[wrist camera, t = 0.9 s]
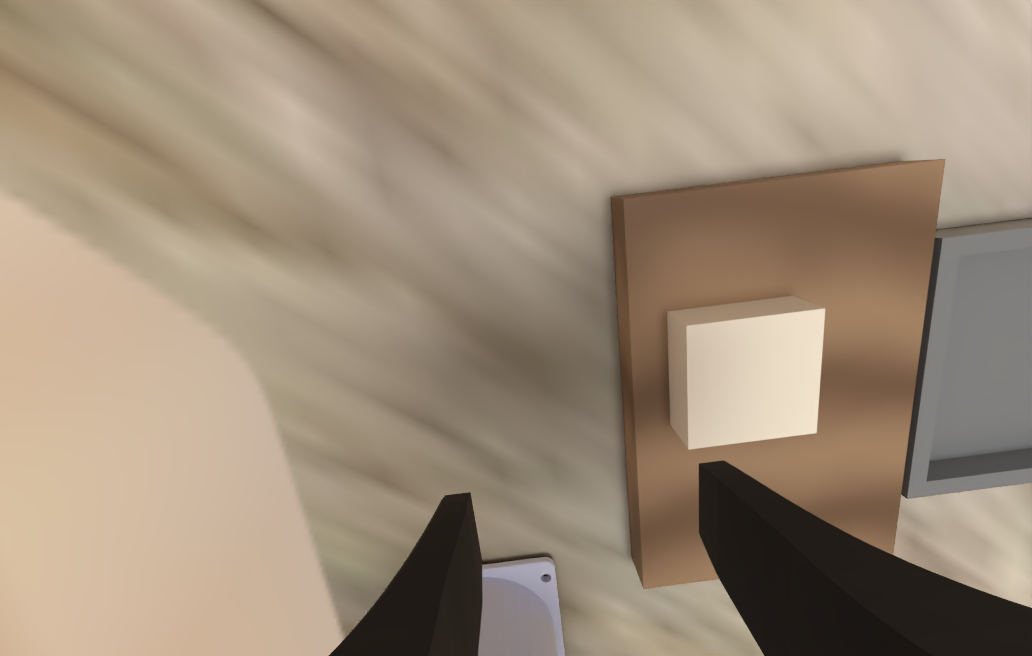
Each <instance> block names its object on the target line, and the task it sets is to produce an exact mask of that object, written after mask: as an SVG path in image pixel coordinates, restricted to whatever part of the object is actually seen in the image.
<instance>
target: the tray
mask: <svg viewBox="0 0 1032 656" xmlns="http://www.w3.org/2000/svg"><path fill="white" fill-rule="evenodd" d="M1025 483H1032V218H1027V219H1019V220H1011V221H1003V222H995V223H987V224H979V225H971V226H963V227H955V228H947V229H939V230H936V233H935V240H934V248H933V256H932V263H931V271H930V278H929V286H928V294H927V301H926V309H925V316H924V324H923V332H922V339H921V347H920V354H919V362H918V369H917V377H916V385H915V392H914V400H913V407H912V415H911V423H910V430H909V438H908V445H907V453H906V461H905V468H904V476H903V483H902V491H901V494H902V495H903V496H904V497H905V498H907V499H909V498H917V497H925V496H932V495H940V494H948V493H955V492H963V491H971V490H979V489H986V488H994V487H1002V486H1009V485H1017V484H1025Z"/></svg>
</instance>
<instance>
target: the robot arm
mask: <svg viewBox="0 0 1032 656" xmlns="http://www.w3.org/2000/svg"><path fill="white" fill-rule="evenodd" d="M699 535H700V537H701V539H702V542H703V544H704V546H705V549H706V551H707V554H708V556H709V558H710V560H711V563H712V565H713V567H714V569H715V571H716V574H717V575H718V577H719V579H720V581H721V582H722V584H723V586H724V588H725V589H726V591H727V593H728V595H729V596H730V598H731V600H732V601H733V603H734V605H735V607H736V608H737V610H738V612H739V613H740V615H741V617H742V618H743V620H744V622H745V624H746V625H747V627H748V629H749V630H750V632H751V634H752V635H753V637H754V639H755V640H756V642H757V644H758V646H759V647H760V649H761V651H762V652H763V654H764V656H1032V608H1030V607H1027V606H1024V605H1021V604H1018V603H1015V602H1012V601H1009V600H1006V599H1003V598H1000V597H997V596H994V595H991V594H989V593H986V592H983V591H980V590H977V589H975V588H972V587H969V586H967V585H964V584H961V583H959V582H956V581H954V580H951V579H949V578H946V577H944V576H941V575H938V574H936V573H933V572H931V571H928V570H926V569H924V568H921V567H919V566H916V565H914V564H912V563H909V562H907V561H905V560H903V559H900V558H898V557H896V556H894V555H892V554H890V553H887V552H885V551H883V550H881V549H879V548H877V547H874V546H872V545H870V544H868V543H866V542H864V541H862V540H860V539H858V538H856V537H854V536H852V535H850V534H848V533H846V532H844V531H843V530H841V529H839V528H837V527H835V526H833V525H831V524H830V523H828V522H826V521H824V520H822V519H820V518H819V517H817V516H815V515H813V514H812V513H810V512H808V511H806V510H805V509H803V508H801V507H799V506H798V505H796V504H794V503H793V502H791V501H789V500H788V499H786V498H784V497H783V496H781V495H779V494H778V493H776V492H775V491H773V490H771V489H770V488H768V487H767V486H765V485H763V484H762V483H760V482H759V481H757V480H755V479H754V478H752V477H751V476H749V475H747V474H746V473H744V472H743V471H741V470H739V469H738V468H736V467H734V466H733V465H731V464H729V463H728V462H726V461H724V460H722V461H714V462H706V463H699ZM544 574H549V576H542V575H544ZM329 656H565V650H564V641H563V633H562V624H561V616H560V607H559V598H558V590H557V581H556V572H555V565H554V562H553V560H552V559H551V558H548V557H539V558H531V559H524V560H516V561H508V562H501V563H493V564H485V565H482V558H481V552H480V546H479V540H478V534H477V528H476V523H475V517H474V511H473V505H472V499H471V493H470V492H469V493H461V494H453V495H445V497H444V498H443V499H442V500H441V502H440V504H439V506H438V508H437V510H436V511H435V513H434V515H433V517H432V519H431V520H430V522H429V524H428V526H427V527H426V529H425V531H424V533H423V534H422V536H421V538H420V539H419V541H418V542H417V544H416V546H415V547H414V549H413V550H412V552H411V553H410V555H409V557H408V558H407V560H406V561H405V563H404V564H403V566H402V567H401V569H400V570H399V571H398V573H397V574H396V576H395V577H394V578H393V580H392V581H391V583H390V584H389V585H388V587H387V588H386V590H385V591H384V592H383V594H382V595H381V596H380V598H379V599H378V600H377V601H376V603H375V604H374V605H373V607H372V608H371V609H370V610H369V612H368V613H367V614H366V615H365V616H364V618H363V619H362V620H361V621H360V622H359V623H358V625H357V626H356V627H355V628H354V629H353V630H352V632H351V633H350V634H349V635H348V636H347V637H346V638H345V639H344V640H343V641H342V642H341V644H340V645H339V646H338V647H337V648H336V649H335V650H334V651H333V652H332V653H331V654H330V655H329Z"/></svg>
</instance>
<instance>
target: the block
mask: <svg viewBox="0 0 1032 656" xmlns="http://www.w3.org/2000/svg"><path fill="white" fill-rule="evenodd" d="M824 321H825V308H823V307H820V306H818V305H815V304H813V303H810V302H807V301H805V300H802V299H799V298H797V297H794V296H787V297H779V298H771V299H763V300H755V301H747V302H739V303H731V304H723V305H715V306H707V307H699V308H691V309H683V310H676V311H668V312H667V324H668V360H669V396H670V425H671V426H672V428H673V429H674V431H675V432H676V433H677V435H678V436H679V437H680V439H681V440H682V442H683V443H684V444H685V446H686V447H687V448H688V450H689V449H697V448H705V447H713V446H721V445H728V444H736V443H744V442H752V441H759V440H767V439H775V438H783V437H790V436H798V435H806V434H814V433H817V421H818V407H819V393H820V378H821V364H822V350H823V335H824Z"/></svg>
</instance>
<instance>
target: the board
mask: <svg viewBox="0 0 1032 656" xmlns="http://www.w3.org/2000/svg"><path fill="white" fill-rule="evenodd" d="M944 165H945V159H939V160H919V161H900V162H892V163H884V164H876V165H868V166H860V167H852V168H844V169H836V170H827V171H819V172H811V173H803V174H795V175H787V176H779V177H771V178H763V179H754V180H746V181H738V182H730V183H722V184H714V185H706V186H698V187H690V188H681V189H673V190H665V191H657V192H649V193H641V194H633V195H625V196H617V197H611V209H612V226H613V243H614V260H615V277H616V294H617V311H618V328H619V345H620V362H621V379H622V397H623V414H624V431H625V448H626V465H627V482H628V499H629V516H630V533H631V550H632V559H633V562H634V565H635V567H636V570H637V573H638V576H639V578H640V581H641V584H642V586H643V589H647V588H655V587H662V586H670V585H678V584H685V583H693V582H700V581H708V580H716V579H719V577H718V575H717V574H716V571H715V569H714V567H713V565H712V563H711V560H710V558H709V556H708V554H707V551H706V549H705V546H704V544H703V542H702V539H701V537H700V535H699V463H706V462H714V461H722V460H724V461H726V462H728V463H729V464H731V465H733V466H734V467H736V468H738V469H739V470H741V471H743V472H744V473H746V474H747V475H749V476H751V477H752V478H754V479H755V480H757V481H759V482H760V483H762V484H763V485H765V486H767V487H768V488H770V489H771V490H773V491H775V492H776V493H778V494H779V495H781V496H783V497H784V498H786V499H788V500H789V501H791V502H793V503H794V504H796V505H798V506H799V507H801V508H803V509H805V510H806V511H808V512H810V513H812V514H813V515H815V516H817V517H819V518H820V519H822V520H824V521H826V522H828V523H830V524H831V525H833V526H835V527H837V528H839V529H841V530H843V531H844V532H846V533H848V534H850V535H852V536H854V537H856V538H858V539H860V540H862V541H864V542H866V543H868V544H870V545H872V546H874V547H877V548H879V549H881V550H883V551H885V552H887V553H890V554H892V555H893V552H894V544H895V536H896V529H897V521H898V514H899V506H900V499H901V491H902V483H903V476H904V468H905V461H906V453H907V445H908V438H909V430H910V423H911V415H912V407H913V400H914V392H915V385H916V377H917V369H918V362H919V354H920V347H921V339H922V332H923V324H924V316H925V309H926V301H927V294H928V286H929V278H930V271H931V263H932V256H933V248H934V240H935V233H936V225H937V218H938V210H939V203H940V195H941V187H942V180H943V172H944ZM787 296H794V297H797V298H799V299H802V300H805V301H807V302H810V303H813V304H815V305H818V306H820V307H823V308H825V321H824V335H823V350H822V364H821V378H820V393H819V407H818V421H817V433H814V434H806V435H798V436H790V437H783V438H775V439H767V440H759V441H752V442H744V443H736V444H728V445H721V446H713V447H705V448H697V449H689V450H688V448H687V447H686V446H685V444H684V443H683V442H682V440H681V439H680V437H679V436H678V435H677V433H676V432H675V431H674V429H673V428H672V426H671V425H670V396H669V360H668V324H667V312H668V311H676V310H683V309H691V308H699V307H707V306H715V305H723V304H731V303H739V302H747V301H755V300H763V299H771V298H779V297H787Z"/></svg>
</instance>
